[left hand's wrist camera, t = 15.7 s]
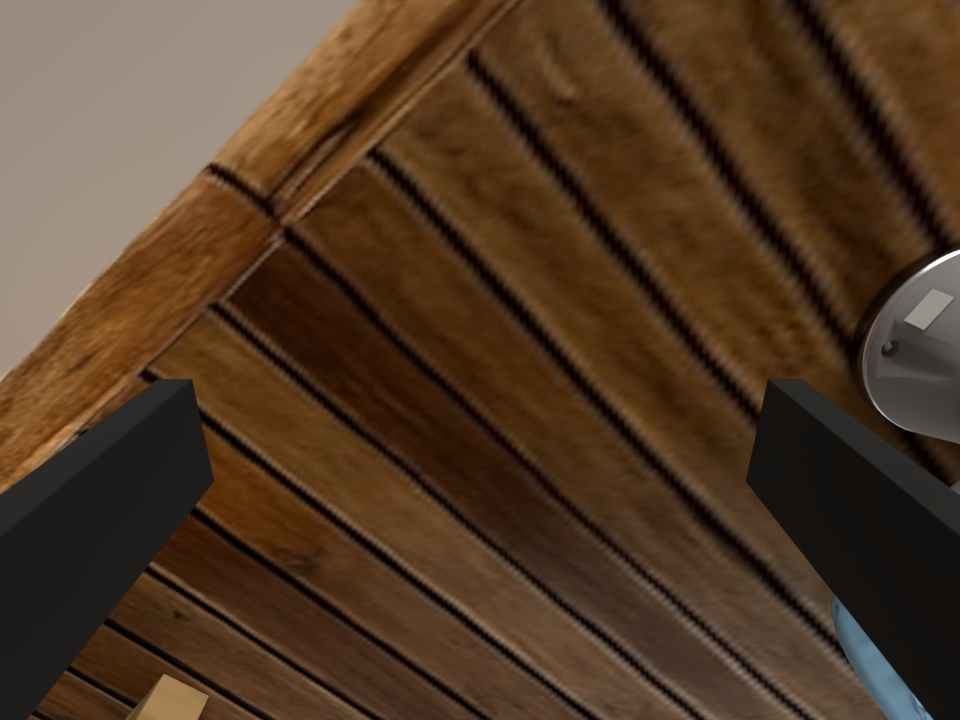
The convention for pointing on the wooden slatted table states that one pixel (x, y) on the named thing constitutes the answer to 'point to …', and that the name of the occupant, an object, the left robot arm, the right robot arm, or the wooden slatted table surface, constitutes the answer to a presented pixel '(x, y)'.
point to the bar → (170, 702)
